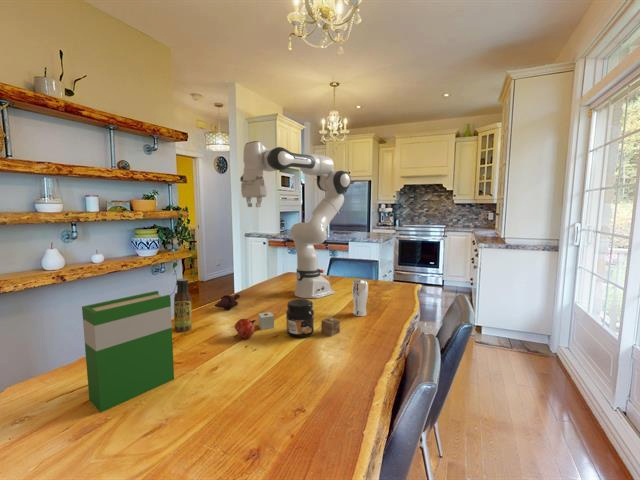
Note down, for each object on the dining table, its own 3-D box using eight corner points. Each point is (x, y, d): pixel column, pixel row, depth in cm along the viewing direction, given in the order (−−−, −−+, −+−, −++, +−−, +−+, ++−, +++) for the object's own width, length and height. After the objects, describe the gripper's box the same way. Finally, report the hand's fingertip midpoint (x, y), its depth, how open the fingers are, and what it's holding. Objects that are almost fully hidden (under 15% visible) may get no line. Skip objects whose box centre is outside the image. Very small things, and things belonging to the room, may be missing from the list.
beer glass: (367, 311, 143) (368, 279, 141) (368, 317, 136) (368, 283, 135) (351, 311, 144) (352, 279, 142) (352, 316, 137) (352, 283, 135)
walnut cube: (329, 329, 123) (329, 316, 123) (339, 332, 120) (339, 319, 119) (321, 333, 119) (321, 319, 119) (331, 336, 116) (331, 323, 116)
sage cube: (270, 323, 128) (270, 311, 128) (274, 328, 124) (273, 315, 123) (258, 325, 126) (258, 313, 126) (261, 330, 122) (261, 317, 121)
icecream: (222, 301, 136) (245, 296, 149) (210, 295, 140) (234, 290, 153) (218, 316, 137) (242, 309, 150) (207, 309, 141) (231, 303, 154)
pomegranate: (236, 348, 111) (258, 332, 110) (223, 331, 111) (246, 315, 110) (242, 341, 118) (263, 326, 118) (231, 326, 118) (251, 310, 118)
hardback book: (160, 370, 91) (156, 290, 89) (174, 379, 87) (170, 295, 84) (89, 400, 77) (81, 306, 75) (100, 412, 73) (93, 313, 70)
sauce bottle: (173, 333, 117) (170, 281, 115) (175, 327, 123) (173, 278, 121) (191, 331, 119) (189, 280, 117) (193, 325, 125) (191, 277, 123)
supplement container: (288, 340, 112) (288, 308, 111) (284, 329, 123) (284, 299, 121) (317, 337, 115) (317, 305, 114) (310, 326, 125) (310, 297, 124)
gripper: (269, 176, 139) (270, 207, 140) (250, 179, 155) (251, 207, 157) (256, 175, 135) (257, 207, 136) (238, 178, 151) (239, 206, 153)
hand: (254, 207), depth 147 cm, fingers open, 8 cm apart
